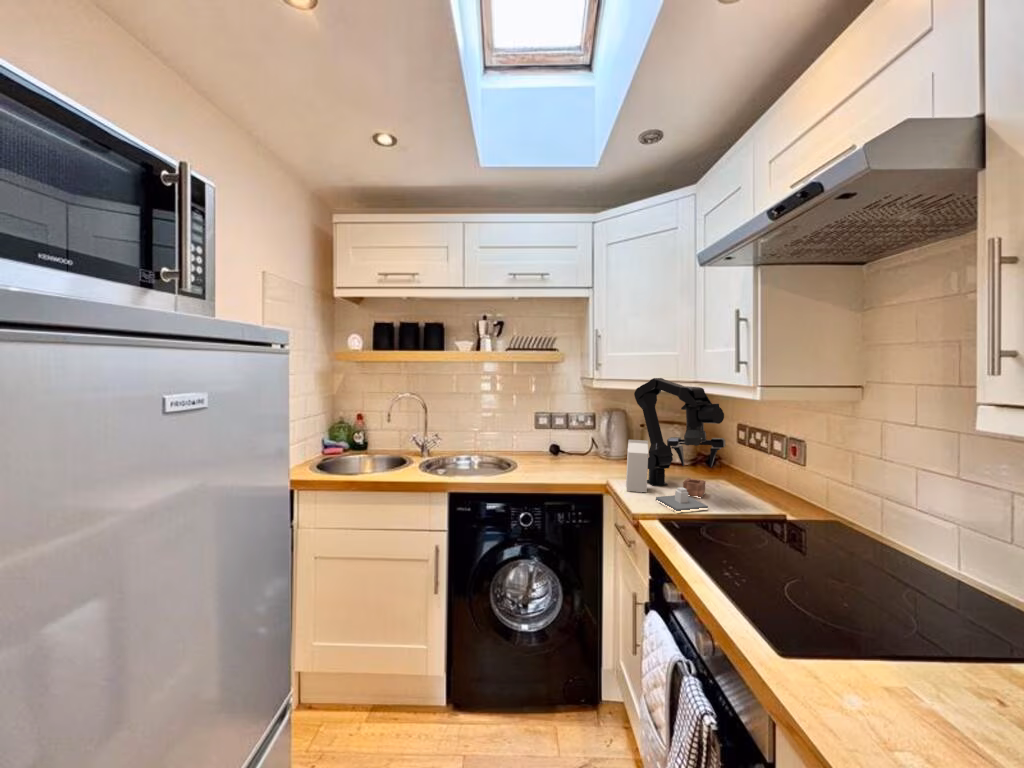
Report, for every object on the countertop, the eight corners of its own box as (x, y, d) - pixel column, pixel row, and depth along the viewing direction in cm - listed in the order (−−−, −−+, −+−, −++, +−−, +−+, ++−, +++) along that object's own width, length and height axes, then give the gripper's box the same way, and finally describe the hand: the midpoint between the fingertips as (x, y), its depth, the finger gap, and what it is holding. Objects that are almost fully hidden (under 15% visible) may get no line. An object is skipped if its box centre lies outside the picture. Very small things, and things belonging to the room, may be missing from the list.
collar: (682, 495, 169) (683, 481, 168) (686, 490, 174) (687, 477, 173) (700, 498, 165) (701, 485, 165) (704, 494, 170) (705, 480, 170)
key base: (655, 501, 162) (656, 484, 161) (684, 498, 165) (685, 482, 164) (676, 513, 150) (677, 495, 150) (707, 510, 153) (708, 492, 153)
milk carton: (646, 493, 170) (648, 442, 168) (626, 491, 171) (628, 441, 169) (644, 487, 177) (647, 438, 175) (625, 485, 178) (628, 437, 176)
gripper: (662, 424, 162) (664, 468, 161) (720, 424, 152) (722, 471, 151) (669, 421, 171) (671, 463, 171) (724, 422, 161) (726, 466, 161)
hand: (696, 466), depth 163 cm, fingers open, 9 cm apart
